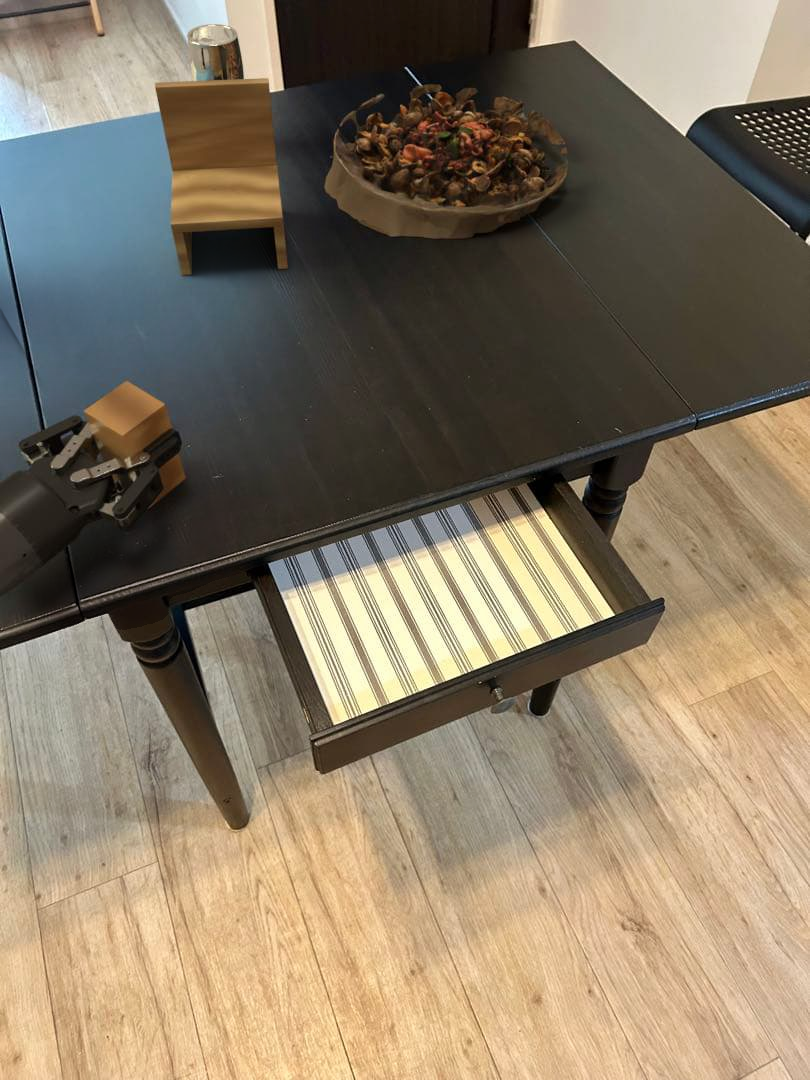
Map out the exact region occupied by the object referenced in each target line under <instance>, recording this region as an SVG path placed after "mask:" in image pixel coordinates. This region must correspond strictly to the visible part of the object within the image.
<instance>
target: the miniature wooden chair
mask: <svg viewBox="0 0 810 1080" xmlns="http://www.w3.org/2000/svg"><path fill="white" fill-rule="evenodd" d="M154 90H155V95H156V98H157V103H158V109H159V114H160V119H161V124H162V127H163V131H164V132H163V133H164V137H165V143H166V148H167V152H168V156H169V157H168V158H169V161H170V167H171V172H172V173H171V175H172V176H171V196H170V197H171V198H170V199H171V200H170V229H171V232H172V238H173V242H174V247H175V251H176V257H177V260H178V264H179V265H178V266H179V270H180V273H181V276H191V275H192V274H193V273H192V268H193V267H192V265H193V264H192V263H193V262H192V261H193V232H195V233H196V232H212V231H227V230H244V229H245V230H246V229H260V228H273V233H274V243H275V252H276V263H277V269H278V270H286V269H287V270H288V269H289V265H288V256H287V246H286V245H287V244H286V235H285V225H284V224H285V223H284V216H283V206H282V197H281V188H280V180H279V170H278V169H279V168H278V160H277V150H276V141H275V139H276V138H275V131H274V122H273V121H274V119H273V111H272V102H271V91H270V81H269V78H267V77H261V78H244V79H234V80H209V81H193V80H189V81H188V80H187V81H186V80H185V81H168V82H167V81H163V82H155V84H154Z"/></svg>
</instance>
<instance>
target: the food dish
mask: <svg viewBox="0 0 810 1080" xmlns="http://www.w3.org/2000/svg"><path fill="white" fill-rule="evenodd" d="M442 89H443V88H442V86H441V85H440V84H424V85H416V86H415V87H414V88H413V89H412V91H410V92H409V93H410V102H409V103H408V109H407V108H406V106H404V105H403V104H400V105H399V113H397V114H396V115H395V117H394V119H393V120H392V121H391V122H390V123H388V124H386V123H384V121H383V120H384V119H383V115H382V114H381V113H380V112H374V113H372V114H370V115H368V117H367V118H366V121H365V124H364V125H361V126H360V125H359V122H358V120H357V113H358V111H360V110H361V109H365V110H366V109H367V110H368V109H369V108H370V107H371V106H372V105H376V104H377V103H379V102H380V101H381V100H382V99H383V98H384V97H385V95H384V94H383V93H380V94H376V96H375V97H372V98H371V99H368V100H366V101H365V102H363V103H362V104H361V105H360V106H359V107H358V109H357V110H352V111H350V112H349V113H348V114H347V115H346V116H345V117H344V118H343V119H342V120H341V121H340V124H339V127H342V126H344V125H343V124H344V123H345V122H346V121H348V120H351V121H352V122H353V123H354V124H355V125H356V135H355V136H354V143H351V142H347V143H345V142H344V141H343V140H342V137H341V135H340V129H339V128H337V130H336V132H335V134H334V138H333V155H330V159H332V158H333V159H332V165H331V167H330V169H329V171H328V173H327V175H326V176H325V182H324V186H323V188H324V190H325V193H326V194H328V195H329V197H331V198H332V199H334V200H336V203H337V207H338V209H340V210H341V211H342V212H344V213H346V214H348V215H349V216H350V217H351V218H352V219H354V220H356V221H357V222H358V224H360V225H363V226H364V227H368V228H369V229H372V230H373V231H376V232H378V233H381V234H385V235H387V236H388V237H390V238H391V237H393V238H394V237H418V238H426V239H435V240H436V239H437V240H438V239H439V240H440V239H447V240H448V239H449V240H451V239H469V238H472V237H474V235H475V234H486V233H491V232H492V233H493V232H494V231H495V230H497V229H498V228H499V227H501V226H504V225H505V224H507V223H508V224H511V223H512V222H517V221H519V220H521V218H523V217H525V216H526V215H528V214H530V213H533V212H536V211H537V210H538V208H539V206H540V204H541V203H542V202H543V201H544V200H545V199H547V198H548V197H550V196H551V195H552V194H554V193H556V192H557V190H558V189H559V188H560V187H561V185H562V184H564V181H565V179H566V178H567V177H568V170H569V169H568V167H569V161H568V159H565V162H564V163H563V164H560V165H559V166H558V167H556V168H555V172H556V175H555V176H554V177H553V178H552V179H551V180H549V181H547V180H548V179H549V177H550V176H551V174H552V169H551V167H549V165H544V164H545V159H546V156H545V152H544V151H542V152H541V153H539V152H538V149H537V148H536V147H533V141H532V140H531V139H532V137H534V136H536V135H537V134H538V132H539V136H541V137H545V138H547V140H548V143H549V144H550V145H551V146H556V147H557V146H558V147H561V146H563V145H566V142H565V141H564V139H563V138H562V136H561V134H560V133H559V132H558V131H557V129H556V128H554V126H553V125H552V124H551V123H550V122H549V120H547V119H545V118H544V117H543V113H542V111H541V112H540V111H537V110H536V109H532V110H531V111H529V112H528V115H527V117H526V116H525V111H524V110H525V107H524V102H523V99H522V98H520V101H519V102H516V101H515V100H513V99H510V98H507V97H505V96H497V97H495V99H494V102H493V107H494V109H495V110H492V109H490V110H486V111H485V112H483V113H482V112H480V111H477V109H476V103H475V102H474V100H473V99H472V100H471V98H473V97H474V96H475V95H476V94H478V93H479V90H478V89H477V88H476V87H465V88H463V89H462V90H461V91H459V92H457V93H455V99H456V103H455V100H454V98H453V96H451V95H449V94H448V93H447V92H443V91H442ZM432 92H433V93H436V94H435V96H434V98H431V99H430V102H428V104H427V106H425V107H423V105H424V103H422V101H421V100H420V99H419V98H420V97H421V96H422V95H424V94H426V95H430V94H431V93H432ZM507 120H508V121H507ZM535 134H536V135H535ZM567 154H568V149H567V147H563V148H562V149H561V152H560V155H561V156H564V155H567ZM545 170H549V171H545ZM546 181H547V182H546Z"/></svg>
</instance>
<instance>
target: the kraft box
mask: <svg viewBox="0 0 810 1080" xmlns="http://www.w3.org/2000/svg"><path fill="white" fill-rule="evenodd" d="M83 413H84V415H85V418H86V420H87V422H88V423H89V426H90V428H91V431H92V433H93V435H94V438H95V441H96V444H97V446H98V448H99V450H100V453H99V454H100V456H101V459H102V462H103V463H105V462H107V461H110V460H112V459H115V458H120V459H126V458H128V457H129V458H131V457H132V456H134V455H136V454H138V453H141V452H144V451H143V449H144V448H145V447H147V446H148V445H149V444H150V443H152V442H153V441H154V440H156V439H157V438H158V437H160V436H161V435H162V434H164V433H165V432H166V431H167V430H169V429H170V428H173V427H172V424H171V420H170V416H169V413H168V409H167V405H166V403H164V402H163V401H161V400H159V399H158V398H156V397H154V396H153V395H151V394H149V393H148V392H146V391H145V390H143V389H141V388H140V387H138V386H136V385H134V384H133V383H131V382H130V381H128V380H126V381H124V382H123V383H121V384H120V385H118V386H117V387H116V388H114V389H112V390H111V391H110V392H108V393H107V394H106V395H104V396H103V397H101V398H100V399H98V400H97V401H95V402H94V403H92V404H91V405H90V406H88V407H87V408H85V409H84V410H83ZM138 470H139V468H137V469H134V470H132V471H130V472H129V473H128V474H130V473H133V472H135V473H136V472H137V471H138ZM158 470H159V473H160V477H161V480H162V483H163V486H164V489H163V491H162V492H161V493H160V494H159V496H158V497H157V498H156V499H155V501H154V502H153V503H152V504H151V505H150V507H149V508H148V509H147V510H149V509H150V508H152V507H153V506H154V505H155V504H156V503H158V502H159V501H160V500H161V499H162V498H164V497H165V496H166V495H167V494H169V493H170V492H171V491H172V490H173V489H175V488H176V487H177V486H178V485H180V484H181V483H182V482H183V481H185V480H186V474H185V471H184V468H183V463H182V460H181V457H180V452H179V453H178V454H177V455H176V456H174V457H173V458H172V459H170V460H169V461H168V462H167V463H166V464H164V465H163V466H162V467H160V468H159V469H158ZM112 476H113V479H114V482H115V483H117V481H118V476H117V474H113V475H112Z"/></svg>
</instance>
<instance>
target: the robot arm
mask: <svg viewBox="0 0 810 1080" xmlns="http://www.w3.org/2000/svg"><path fill="white" fill-rule="evenodd" d="M70 432H72V433H71V434H69V435H67V434H68V433H70ZM64 435H67V436H65V437H63V438H62V436H64ZM182 443H183V442H182V438H181V435H180V432H179V431H178V430H177V429H175V428H173V427H172V428H170V429H169V430H167V431H166V432H165V433H164V434H162V435H161V436H160V437H158V438H157V439H156V440H154V441H153V442H152V443H150V444H149V445H148V446H147V447H145V448H144V449H143V451H144V452H141V453H138V454H136V455H134V456H132V457H131V458H129V457H128V458H126V459H120V458H115V459H112V460H110V461H107V462H105V463H104V462H103V461H100V460H98V456H100V455H99V454H100V450H99V448H98V446H97V444H96V441H95V438H94V435H93V433H92V431H91V428H90V426H89V423H88V420H87V421H86V420H83V418H82V417H81V416H80V415H78V414H77V415H71V416H70V417H67V418H65V419H62V421H59V422H56V423H55V424H53V425H50V426H48V427H46V428H44V429H42V430H40V431H38V432H36V433H34V434H31V435H29V436H28V437H25V438H23V439H21V440H20V441H19V442H18V448H19V449H20V453H21V454H22V457H23V458H24V460H25V461H26V463H27V465H28V466H29V468H28V470H25V469H17V470H15V471H14V472H13V473H11V474H10V475H8V476H6V477H5V478H4V479H2V481H0V597H2V596H4V595H5V594H7V593H10V591H12V590H14V589H15V588H17V587H18V586H19V585H21V584H22V583H23V582H24V581H26V580H27V579H28V578H29V577H31V576H32V575H34V574H35V573H36V572H37V571H38V570H40V569H41V568H43V566H45V565H46V564H47V563H49V561H51V560H52V559H53V558H55V557H57V555H58V554H59V553H61V552H62V551H63V550H64V549H66V548H67V547H68V546H70V545H72V543H74V542H75V541H76V540H77V539H78V538H79V536H80V534H81V533H82V531H83V529H84V528H85V526H87V525H88V524H91V523H94V522H97V521H99V520H101V519H106V520H109V521H111V522H113V523H115V524H117V526H118V528H119V530H120V531H121V532H125V533H126V532H129V531H131V530H132V529H133V528H134V527H135V526H136V524H137V523H138V522H139V521H140V519H141V518H142V517H143V516H144V514H145V513H146V512H147V510H149V509H150V508H151V507H150V505H151V504H152V503H153V502H154V501H155V499H156V498H157V497H158V496H159V494H160V493H161V492H162V491H163V489H164V486H163V483H162V480H161V477H160V473H159V470H158V469H159V468H160V467H162V466H163V465H164V464H166V463H167V462H168V461H169V460H170V459H172V458H173V457H174V456H176V455H177V454H178V453H179V454H180V451H181V450H182ZM137 468H139V470H138V471H137V472H136V473H135V472H133V473H130V474H128V473H129V472H130V471H132V470H134V469H137ZM113 474H117V476H118V481H117V483H115V482H114V479H113V476H112V475H113ZM111 501H112V502H111ZM149 507H150V508H149ZM148 508H149V509H148Z"/></svg>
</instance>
